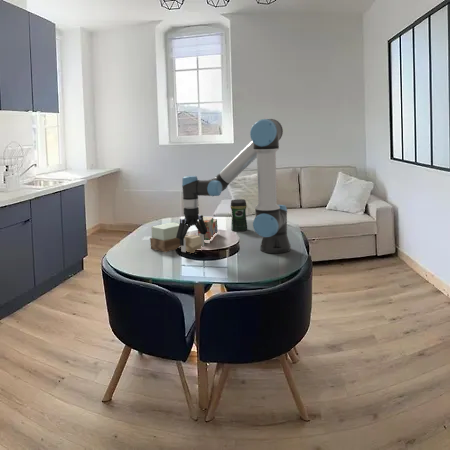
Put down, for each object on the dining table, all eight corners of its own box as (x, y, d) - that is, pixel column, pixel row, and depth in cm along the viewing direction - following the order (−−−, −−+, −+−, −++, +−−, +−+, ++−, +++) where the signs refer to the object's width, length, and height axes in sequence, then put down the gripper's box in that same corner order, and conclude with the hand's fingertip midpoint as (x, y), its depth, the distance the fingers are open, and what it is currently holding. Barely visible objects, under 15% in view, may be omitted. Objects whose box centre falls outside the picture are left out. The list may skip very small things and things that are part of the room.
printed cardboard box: (207, 234, 291) (206, 213, 289) (217, 234, 290) (217, 213, 288) (198, 243, 271) (197, 221, 268) (209, 243, 270) (208, 221, 267)
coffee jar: (246, 228, 304) (246, 198, 300) (247, 231, 296) (247, 200, 292) (230, 228, 303) (229, 198, 300) (231, 231, 296) (230, 200, 292)
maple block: (201, 251, 254) (200, 236, 253) (192, 254, 250) (192, 238, 248) (193, 249, 258) (192, 234, 257) (184, 252, 254) (183, 236, 252)
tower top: (184, 235, 265) (184, 224, 264) (163, 240, 256) (163, 229, 254) (172, 233, 272) (172, 222, 271) (152, 237, 263) (151, 226, 261)
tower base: (188, 246, 267) (188, 235, 265) (165, 252, 255) (164, 241, 254) (174, 243, 275) (173, 232, 274) (150, 249, 264) (150, 238, 262)
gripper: (203, 202, 260) (204, 243, 265) (167, 210, 243) (169, 252, 248) (213, 204, 255) (214, 245, 260) (177, 211, 238) (179, 255, 243)
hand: (192, 249), depth 254 cm, fingers open, 12 cm apart
